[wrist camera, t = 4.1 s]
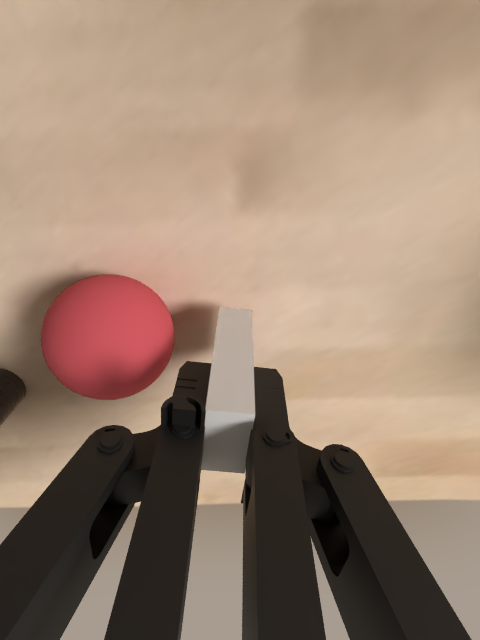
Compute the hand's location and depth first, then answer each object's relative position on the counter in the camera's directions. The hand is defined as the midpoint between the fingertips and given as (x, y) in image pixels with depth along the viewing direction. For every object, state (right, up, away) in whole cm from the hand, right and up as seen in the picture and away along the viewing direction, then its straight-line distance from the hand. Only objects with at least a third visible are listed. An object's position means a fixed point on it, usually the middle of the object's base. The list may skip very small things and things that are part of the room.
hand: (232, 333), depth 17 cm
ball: (-5, 0, -1) cm, 5 cm away
